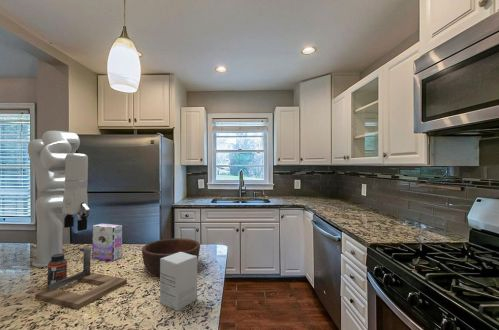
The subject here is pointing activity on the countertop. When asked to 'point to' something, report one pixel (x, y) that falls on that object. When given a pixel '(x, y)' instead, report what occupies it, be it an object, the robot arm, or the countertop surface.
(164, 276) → the supplement box
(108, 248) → the candy box
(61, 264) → the supplement bottle
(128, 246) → the countertop surface
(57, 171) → the robot arm
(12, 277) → the countertop surface
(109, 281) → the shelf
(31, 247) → the countertop surface
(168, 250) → the wooden bowl
